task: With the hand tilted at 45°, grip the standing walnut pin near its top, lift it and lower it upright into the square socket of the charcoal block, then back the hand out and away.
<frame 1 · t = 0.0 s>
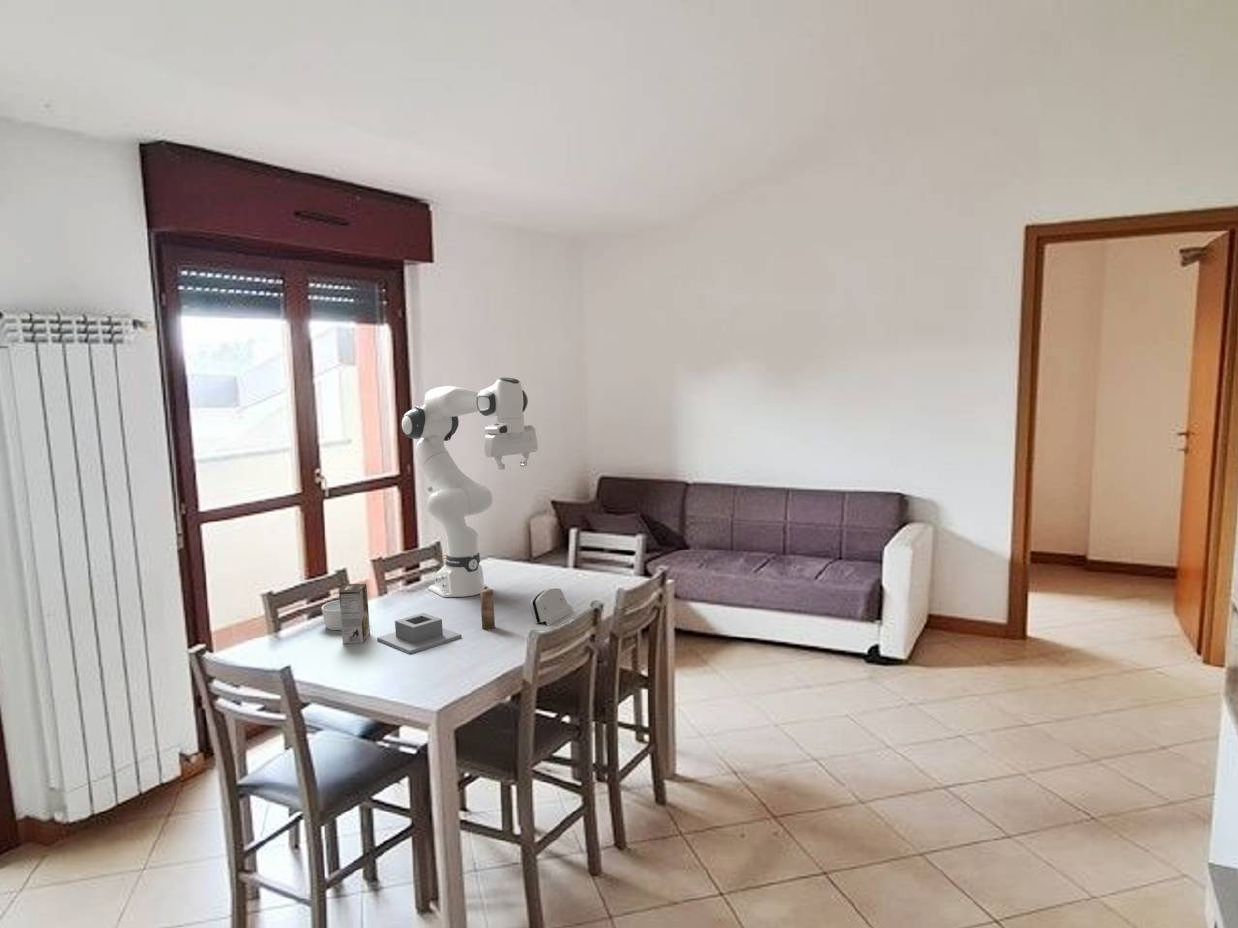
hand: (512, 468, 263), 48 cm above the table, tool pointing down, fingers open, 8 cm apart
socket block: (419, 639, 239), on the table
ramekin: (344, 626, 254), on the table
pin: (488, 627, 248), on the table
coffee box: (356, 639, 241), on the table
hinge: (550, 617, 258), on the table
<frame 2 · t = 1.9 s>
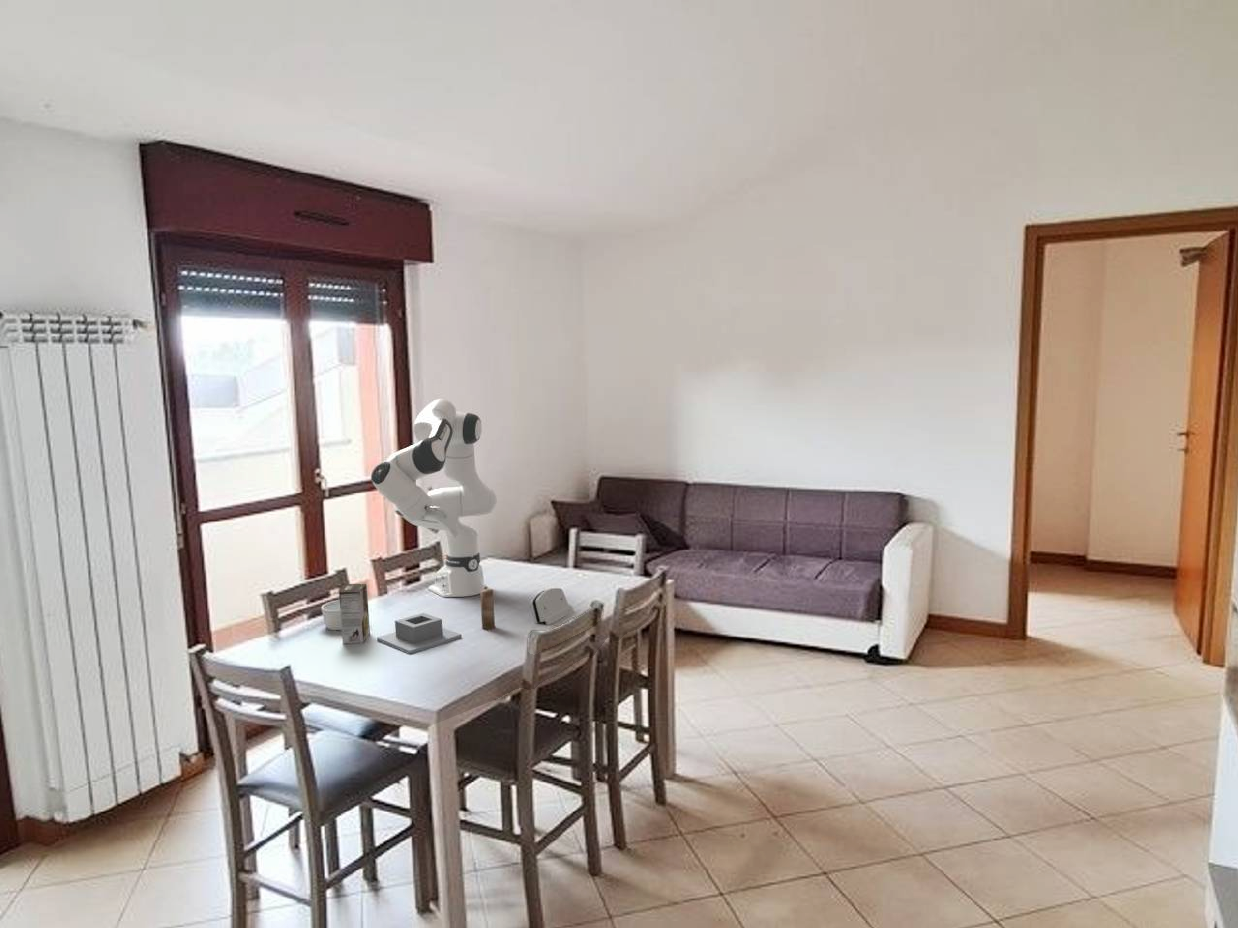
hand: (446, 533, 236), 32 cm above the table, tool tilted 45°, fingers open, 8 cm apart
nothing on the table moved.
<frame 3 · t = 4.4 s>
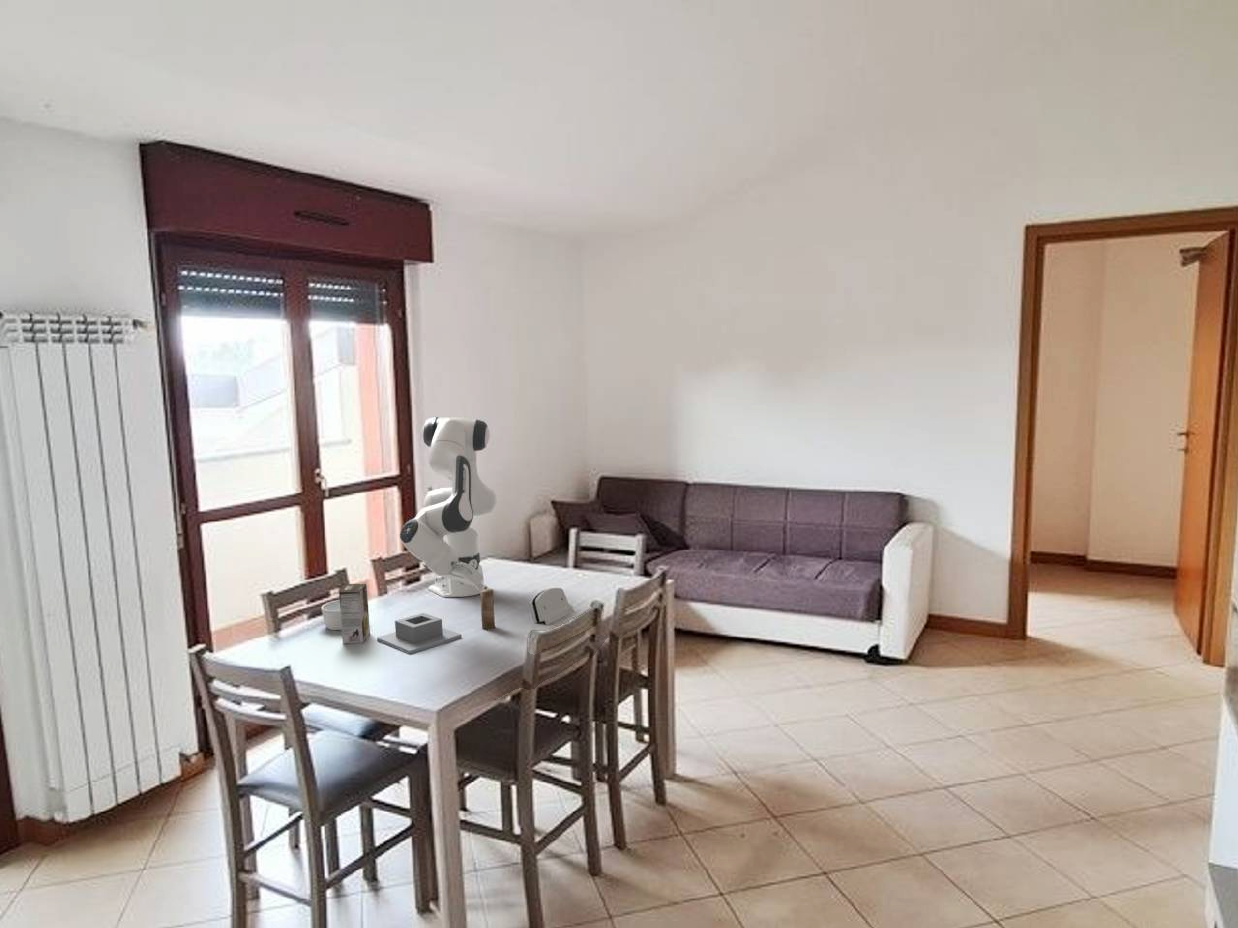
hand: (471, 585, 242), 15 cm above the table, tool tilted 45°, fingers open, 8 cm apart
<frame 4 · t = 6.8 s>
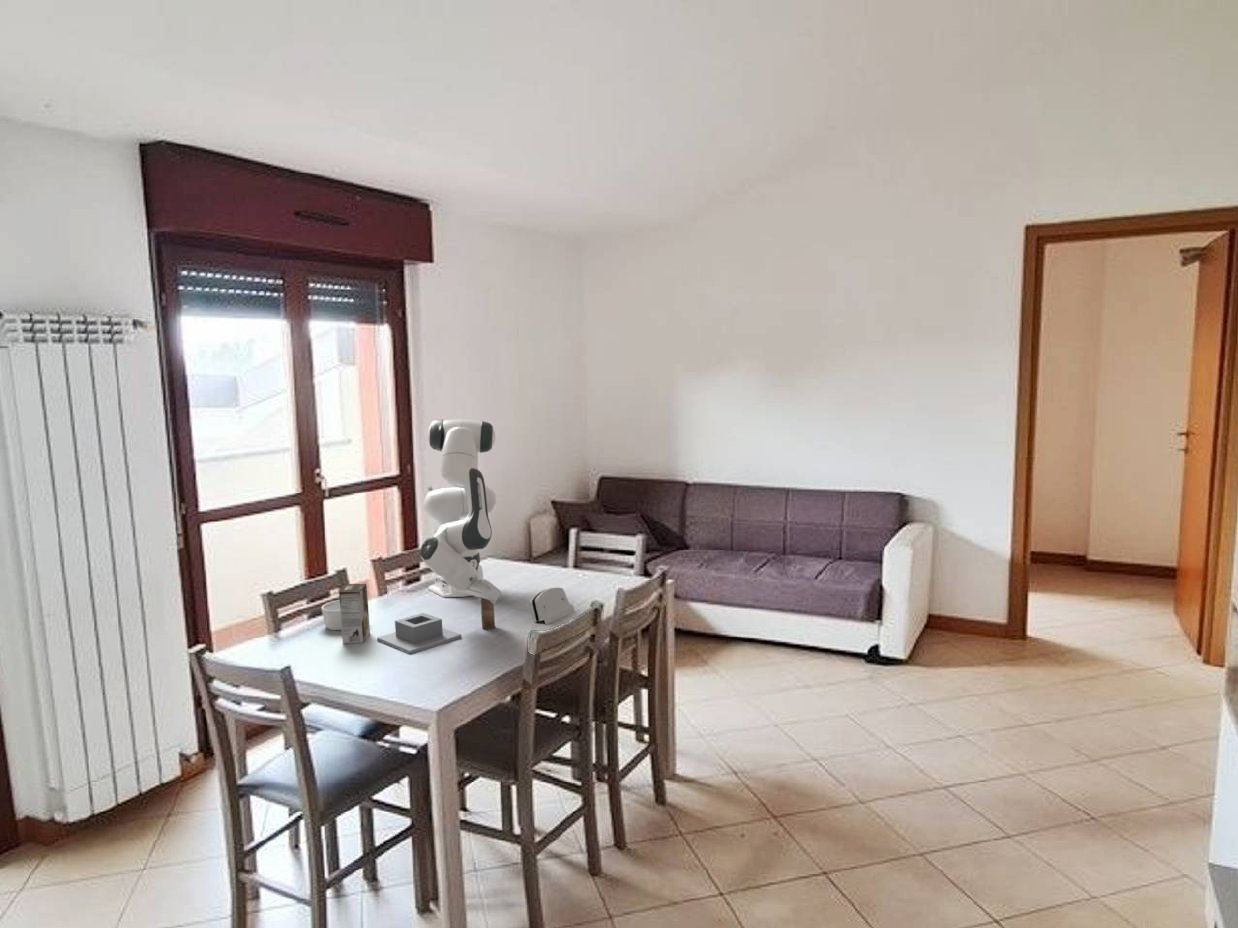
hand: (488, 599, 248), 9 cm above the table, tool tilted 45°, fingers closed on pin, 4 cm apart
pin: (488, 627, 248), on the table, touching gripper
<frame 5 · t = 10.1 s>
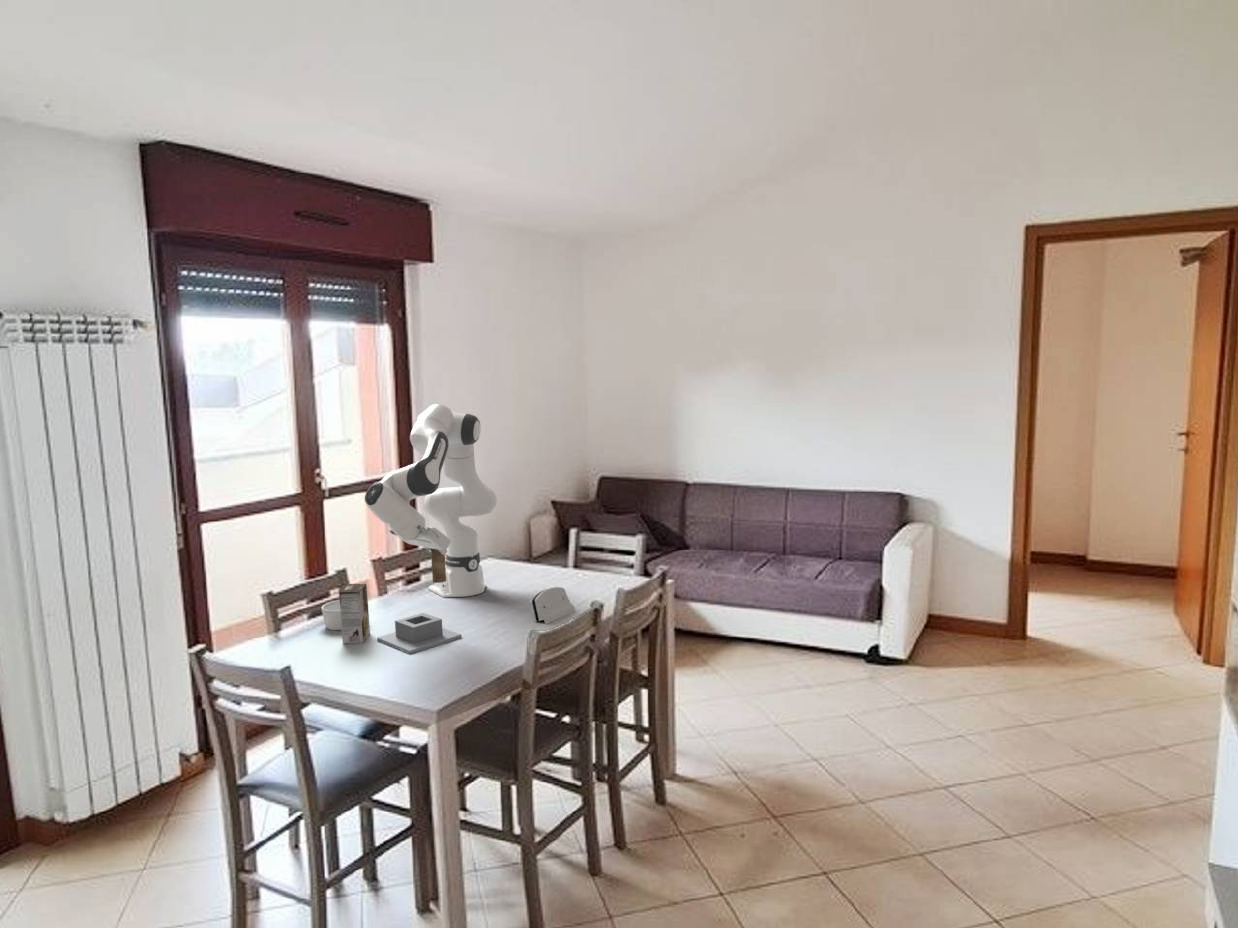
hand: (439, 551, 239), 26 cm above the table, tool tilted 45°, fingers closed on pin, 4 cm apart
pin: (439, 581, 239), point 17 cm above the table, touching gripper
when the fingers open (11 cm above the table, at t = 13.4 s): pin drops 1 cm, resting on socket block.
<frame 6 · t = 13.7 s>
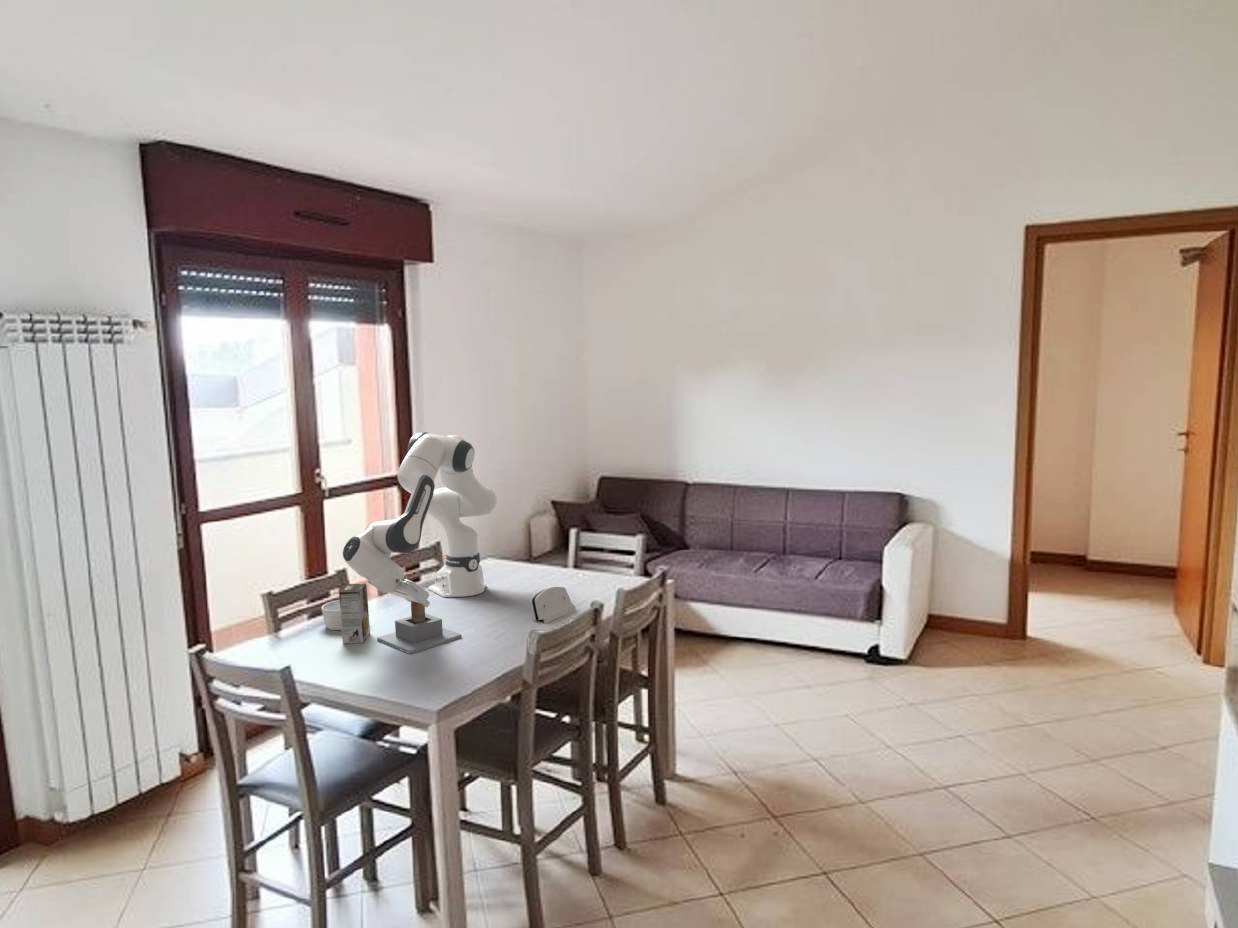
hand: (419, 602, 238), 11 cm above the table, tool tilted 45°, fingers open, 7 cm apart
pin: (419, 635, 239), point 1 cm above the table, touching socket block
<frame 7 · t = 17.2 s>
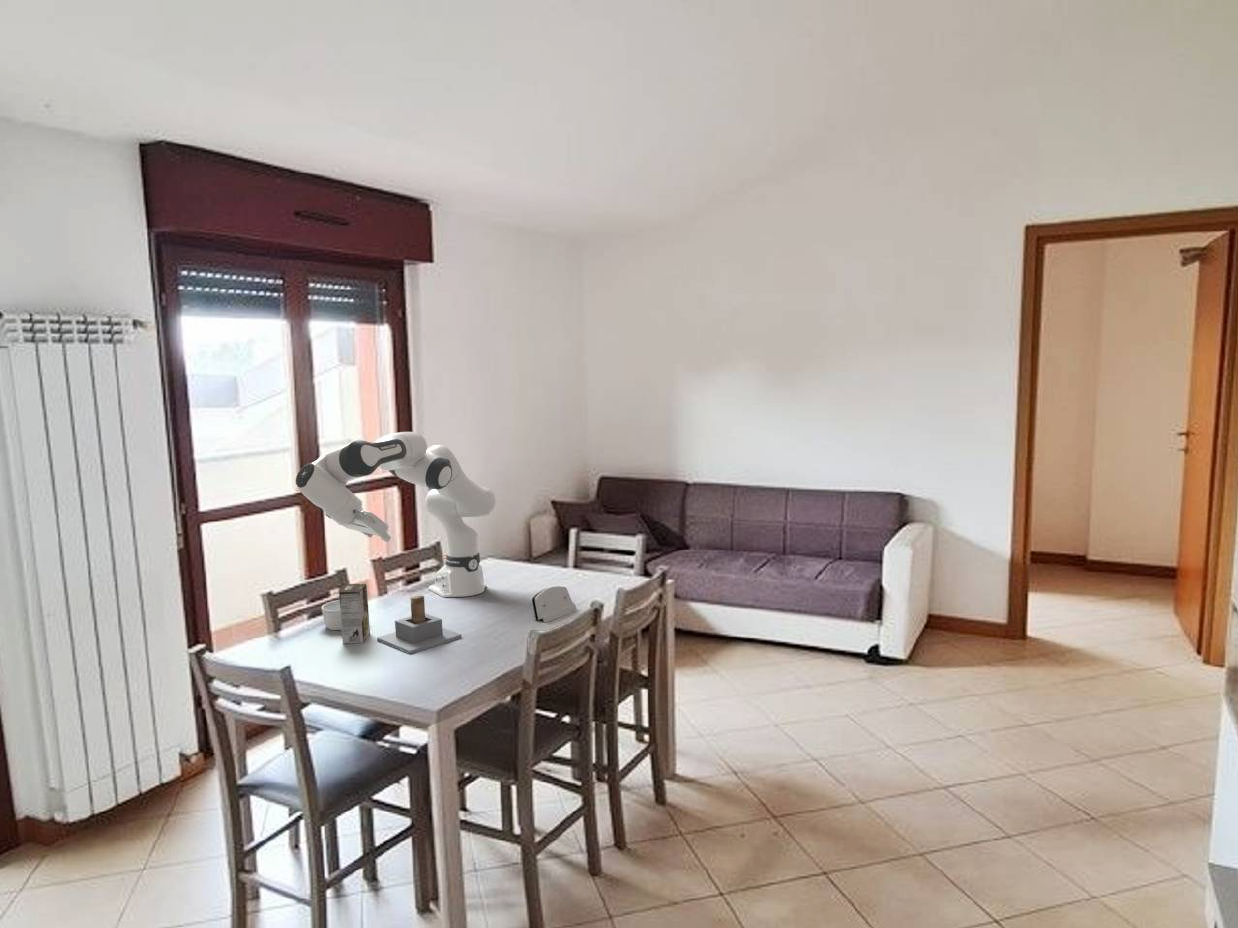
hand: (379, 537, 227), 33 cm above the table, tool tilted 45°, fingers open, 8 cm apart
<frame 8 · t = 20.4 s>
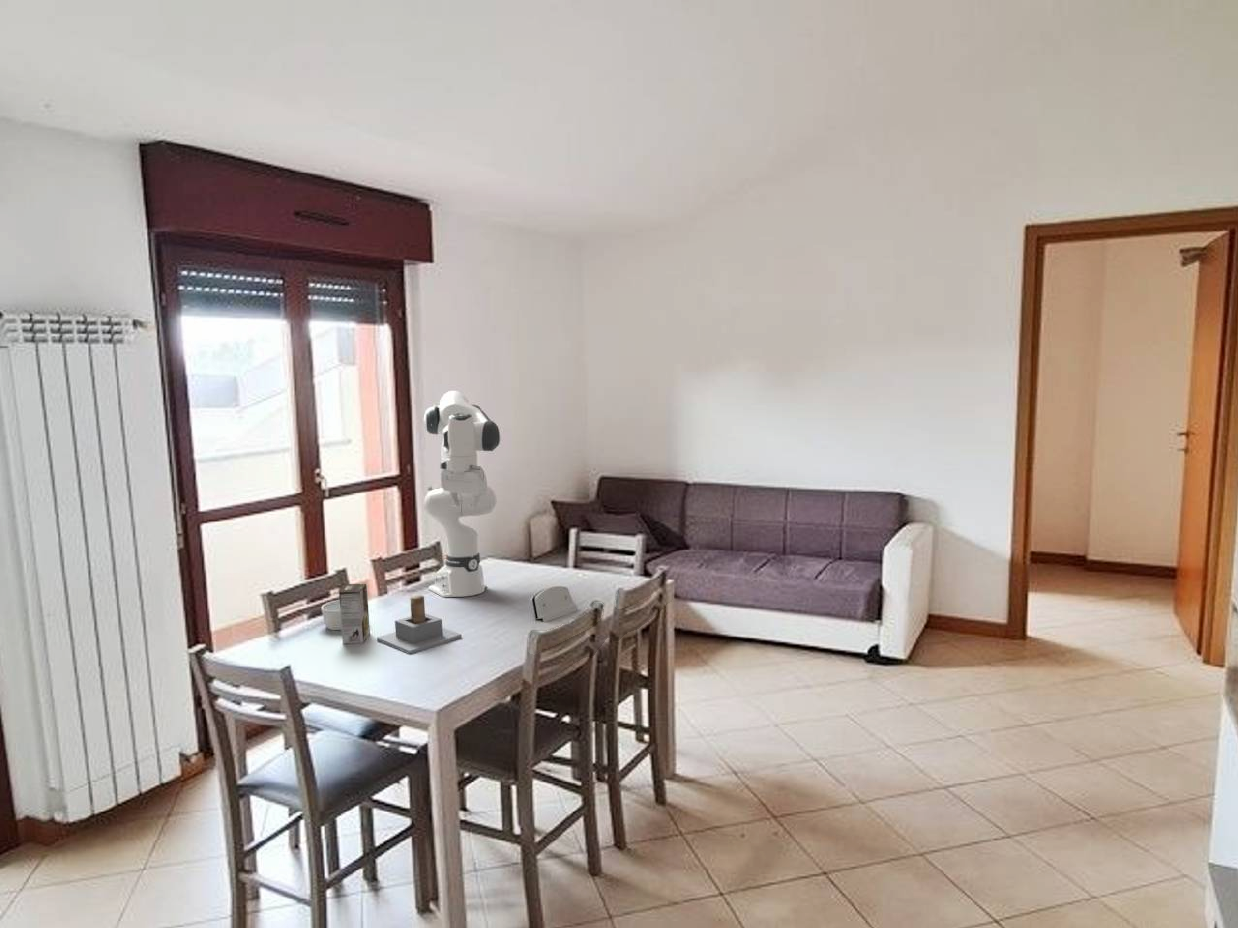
hand: (465, 507, 253), 37 cm above the table, tool pointing down, fingers open, 8 cm apart
at the end: pin 0.0 cm off-centre on the socket block, point 1.0 cm above the socket block's base; pin tilted 0°; the gripper is holding nothing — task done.
